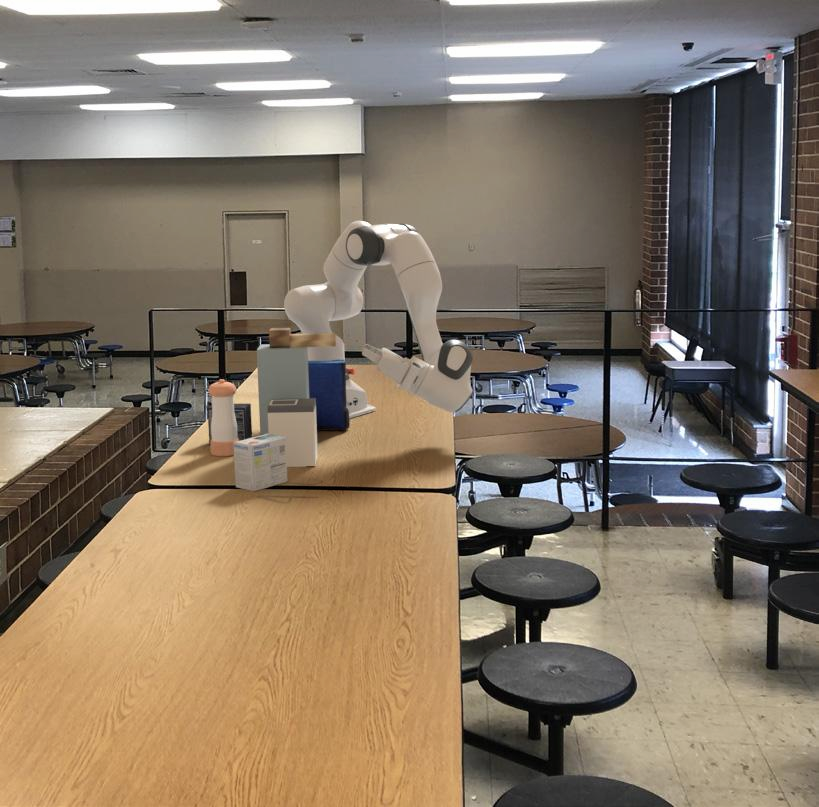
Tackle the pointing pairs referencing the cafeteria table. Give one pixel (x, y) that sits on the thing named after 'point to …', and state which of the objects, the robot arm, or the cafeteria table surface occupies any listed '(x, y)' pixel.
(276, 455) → the light bulb box
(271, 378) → the stand
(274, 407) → the card box
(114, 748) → the cafeteria table surface
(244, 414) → the small box
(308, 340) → the stamp
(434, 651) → the cafeteria table surface
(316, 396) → the blue fabric case
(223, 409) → the salt shaker
